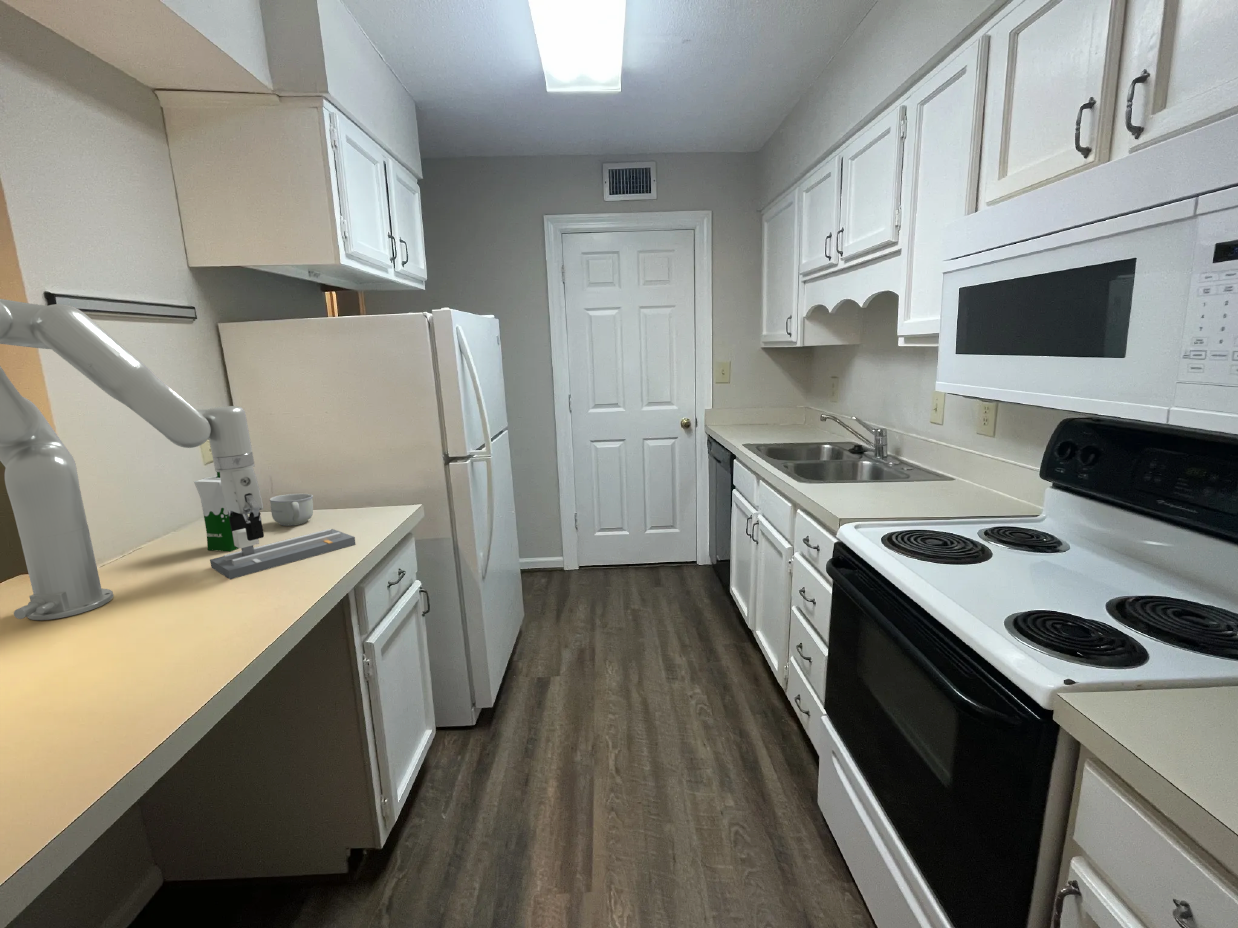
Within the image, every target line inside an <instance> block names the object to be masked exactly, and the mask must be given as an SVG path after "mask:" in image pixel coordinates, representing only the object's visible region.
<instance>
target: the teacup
mask: <svg viewBox="0 0 1238 928" xmlns="http://www.w3.org/2000/svg"><path fill="white" fill-rule="evenodd" d="M313 498H314V495H313V494H309V493H287V494H283V495H282V494H281V495H276V496H272V497H270V498H269V502H270V512H271V517H272V519H273V521H275V523H278V524H279V525H281V526H286V527H288V526H291V527H292V526H298V525H303V524H305V523H307V522H308V521H309V520H310V519H311V518H312V517H313V513H314V501H313V500H314V499H313Z"/></svg>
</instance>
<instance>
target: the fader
mask: <svg viewBox="0 0 1238 928" xmlns="http://www.w3.org/2000/svg"><path fill="white" fill-rule="evenodd" d="M232 533H233V539H234V545H235V546H236V547H238V548H239V549H241V550H240V551H242V556H243V557H244V556H248V555H252V554H255V553H254V548H255V547H254V546H255V545H259V544H260V541H259V540H260V538H259V539H255V540H251V541H249V540H248V539H247V534H246V529H245V528H244V529H240V530H235V531H232Z"/></svg>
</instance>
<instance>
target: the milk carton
mask: <svg viewBox="0 0 1238 928" xmlns="http://www.w3.org/2000/svg"><path fill="white" fill-rule="evenodd" d="M193 483H194V485H195V488H196V490H197V493H198V495H199V498H200V503H201V507H202V514H203V519H204V526H205V531H206V542H207V544H206V546H207V551H212V552H227V553H228V552H229V553H232V552H233V551H235V550H238V549H240V548H238V547H236V546H235V545H234V539H233V533H232V531H231V526H230V521H229V517H230V516H229V515H228V509H227V507H226V505H225V502H224V498H223V492H222V486H221V478H220V472H216V475H213V476H209V477H204V478H202V479H199V480H194V481H193ZM246 510H247V509H246Z"/></svg>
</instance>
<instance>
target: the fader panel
mask: <svg viewBox="0 0 1238 928" xmlns="http://www.w3.org/2000/svg"><path fill="white" fill-rule="evenodd" d="M355 545H356V537H355V536H354V535H351V534H348V533H344V532H342V531H340V530H337V529H335V528H328V529H322V530H319V531H316V532H312V533H306V534H304V535H300V536H295V537H292V538H288V539H283V540H280V541H276V542H272V543H268V544H264V545H260V546H255V547H254V553H255V554H252V555H248V556H244V557H243V556H242V550H240V551H239V550H238V551H236V552H230V553H227V554H223V556H219V557H215V558H212V559H211V558H210V559H209V561H210V563H209V564H210V568H211V569H213V570H214V571H216V573H219V574H220V575H222V576H223V577H225V578H227V579H229V580H233V579H236V578H237V579H238V578H240V577H243V576H244V577H245V576H248V575H251V574H255V573H259V572H262V571H267V570H269V569H273V568H276V567H280V566H284V565H287V564H290V563H294V562H297V561H301V560H305V559H309V558H313V557H315V556H319V555H323V554H326V553H331V552H335V551H338V550H341V549H344V548H348V547H352V546H355Z"/></svg>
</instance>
